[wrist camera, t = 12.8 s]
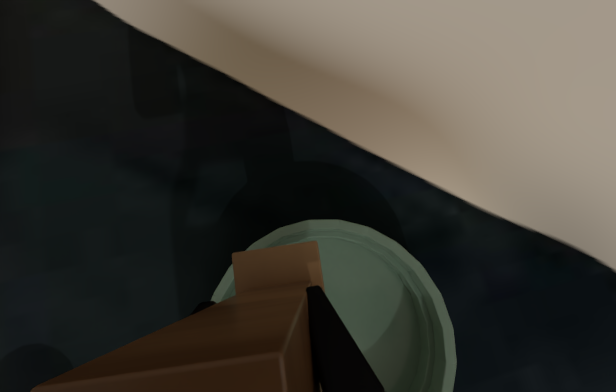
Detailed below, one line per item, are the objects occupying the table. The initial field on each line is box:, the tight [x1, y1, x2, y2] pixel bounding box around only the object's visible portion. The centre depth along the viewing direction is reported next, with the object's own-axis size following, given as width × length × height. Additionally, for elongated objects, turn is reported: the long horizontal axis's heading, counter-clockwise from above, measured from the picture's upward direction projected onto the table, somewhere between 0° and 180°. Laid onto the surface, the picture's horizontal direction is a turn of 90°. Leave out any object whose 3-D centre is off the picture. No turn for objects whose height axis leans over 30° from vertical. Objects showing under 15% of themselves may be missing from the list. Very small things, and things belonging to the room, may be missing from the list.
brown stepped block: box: [31, 241, 325, 392], centre depth 9 cm, size 6×4×12 cm, turn 8°
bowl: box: [211, 219, 457, 392], centre depth 19 cm, size 14×14×4 cm
